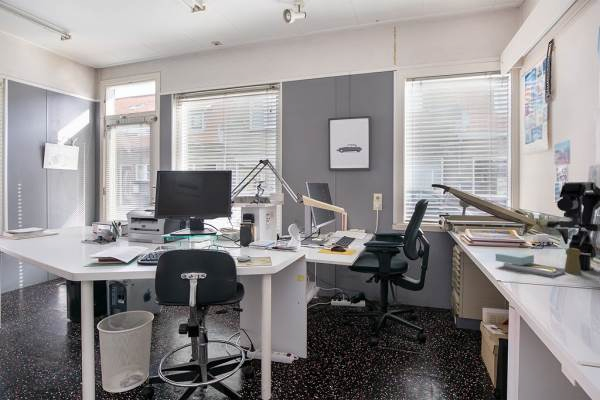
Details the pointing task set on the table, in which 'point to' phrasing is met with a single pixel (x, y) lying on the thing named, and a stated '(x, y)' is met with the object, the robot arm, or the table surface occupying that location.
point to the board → (536, 269)
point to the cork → (572, 261)
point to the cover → (515, 258)
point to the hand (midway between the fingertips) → (572, 244)
